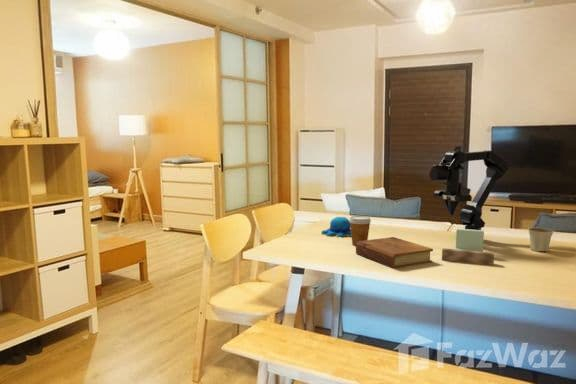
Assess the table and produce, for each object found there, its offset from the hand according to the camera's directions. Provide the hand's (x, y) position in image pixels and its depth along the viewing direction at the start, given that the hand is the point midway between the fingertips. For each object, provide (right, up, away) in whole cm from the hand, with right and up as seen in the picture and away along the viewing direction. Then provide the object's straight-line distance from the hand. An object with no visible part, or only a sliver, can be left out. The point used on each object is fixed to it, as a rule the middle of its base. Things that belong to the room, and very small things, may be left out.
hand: (451, 215), depth 204 cm
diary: (-32, -16, -25) cm, 44 cm away
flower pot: (+31, -14, -15) cm, 37 cm away
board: (-5, -16, -31) cm, 36 cm away
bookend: (-2, -15, -25) cm, 29 cm away
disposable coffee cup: (-41, -13, -3) cm, 43 cm away
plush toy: (-47, -11, +20) cm, 52 cm away
